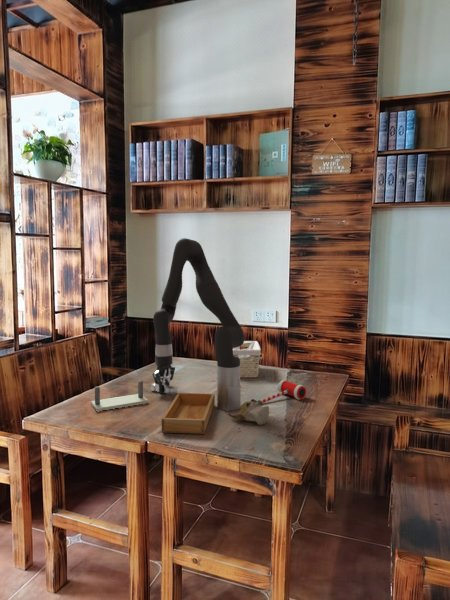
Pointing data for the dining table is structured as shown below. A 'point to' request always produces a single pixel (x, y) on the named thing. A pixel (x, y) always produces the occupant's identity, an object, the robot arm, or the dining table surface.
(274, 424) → the dining table surface
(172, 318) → the robot arm
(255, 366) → the storage basket
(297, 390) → the toy hammer
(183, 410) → the tray
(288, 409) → the dining table surface
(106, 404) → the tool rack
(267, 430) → the dining table surface
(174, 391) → the grey dumbbell
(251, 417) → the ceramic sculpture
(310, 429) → the dining table surface
